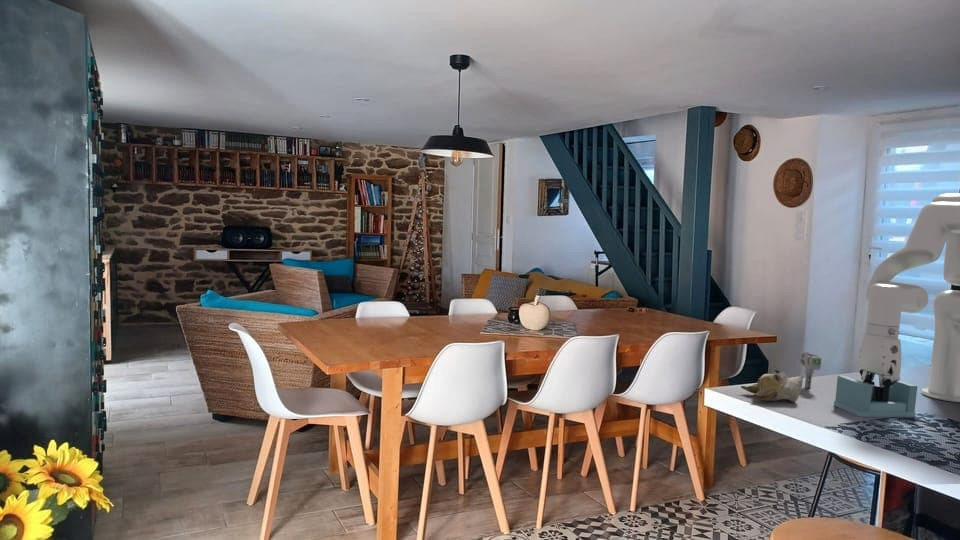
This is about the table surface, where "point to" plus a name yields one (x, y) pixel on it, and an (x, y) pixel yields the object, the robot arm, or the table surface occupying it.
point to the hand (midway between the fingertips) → (874, 398)
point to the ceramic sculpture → (776, 387)
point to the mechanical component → (809, 366)
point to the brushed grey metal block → (873, 393)
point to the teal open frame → (858, 401)
